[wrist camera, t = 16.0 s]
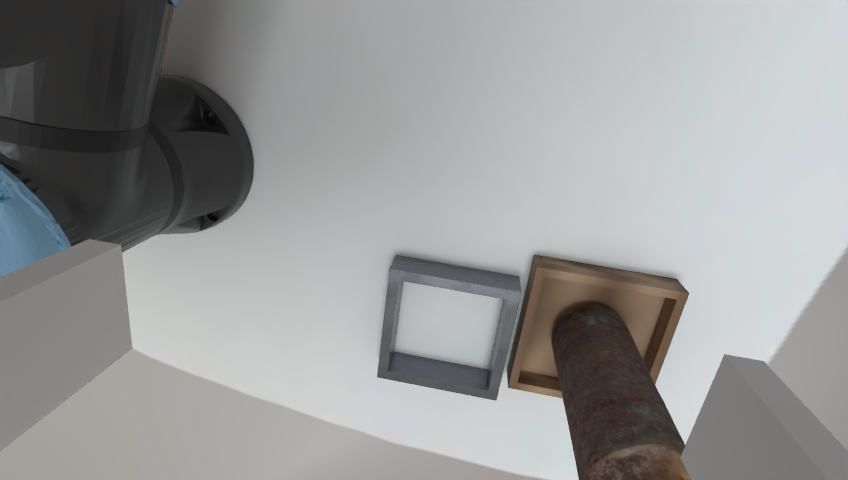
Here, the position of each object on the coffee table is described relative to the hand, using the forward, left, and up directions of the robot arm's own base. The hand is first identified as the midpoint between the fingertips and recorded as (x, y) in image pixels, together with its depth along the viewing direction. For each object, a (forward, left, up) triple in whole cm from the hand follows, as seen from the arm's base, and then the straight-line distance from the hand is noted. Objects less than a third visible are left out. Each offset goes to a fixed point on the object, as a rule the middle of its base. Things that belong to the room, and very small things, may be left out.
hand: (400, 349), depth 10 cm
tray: (+15, -17, -35) cm, 41 cm away
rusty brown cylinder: (+15, -17, -34) cm, 41 cm away
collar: (+1, -19, -35) cm, 40 cm away
